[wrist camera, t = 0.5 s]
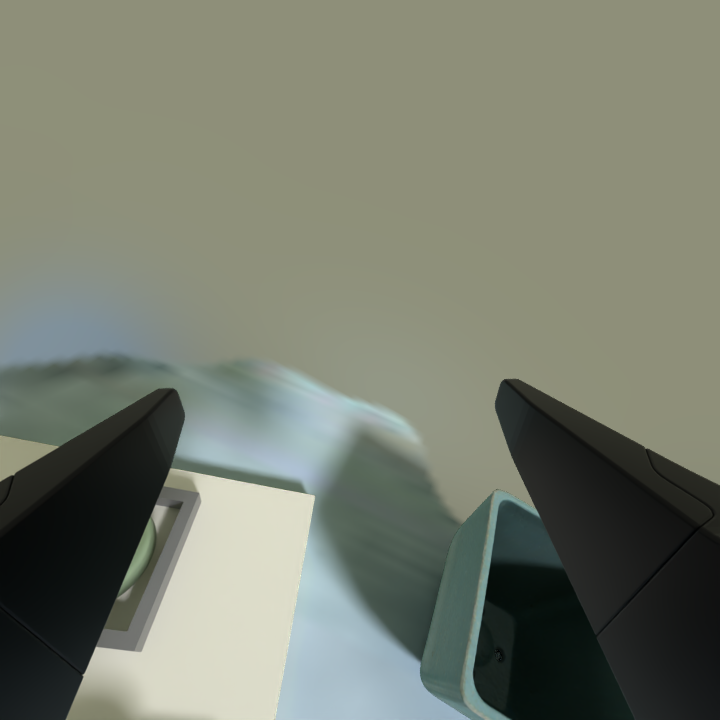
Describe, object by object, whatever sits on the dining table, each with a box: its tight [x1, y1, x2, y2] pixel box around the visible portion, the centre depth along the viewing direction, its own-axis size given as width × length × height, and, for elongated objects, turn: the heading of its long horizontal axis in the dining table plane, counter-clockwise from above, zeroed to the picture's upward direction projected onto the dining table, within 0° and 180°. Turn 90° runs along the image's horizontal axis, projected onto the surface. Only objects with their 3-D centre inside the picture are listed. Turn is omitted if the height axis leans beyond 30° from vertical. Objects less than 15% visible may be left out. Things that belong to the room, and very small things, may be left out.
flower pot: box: [420, 489, 635, 720], centre depth 17 cm, size 9×9×9 cm
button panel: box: [0, 435, 315, 720], centre depth 14 cm, size 20×20×3 cm
